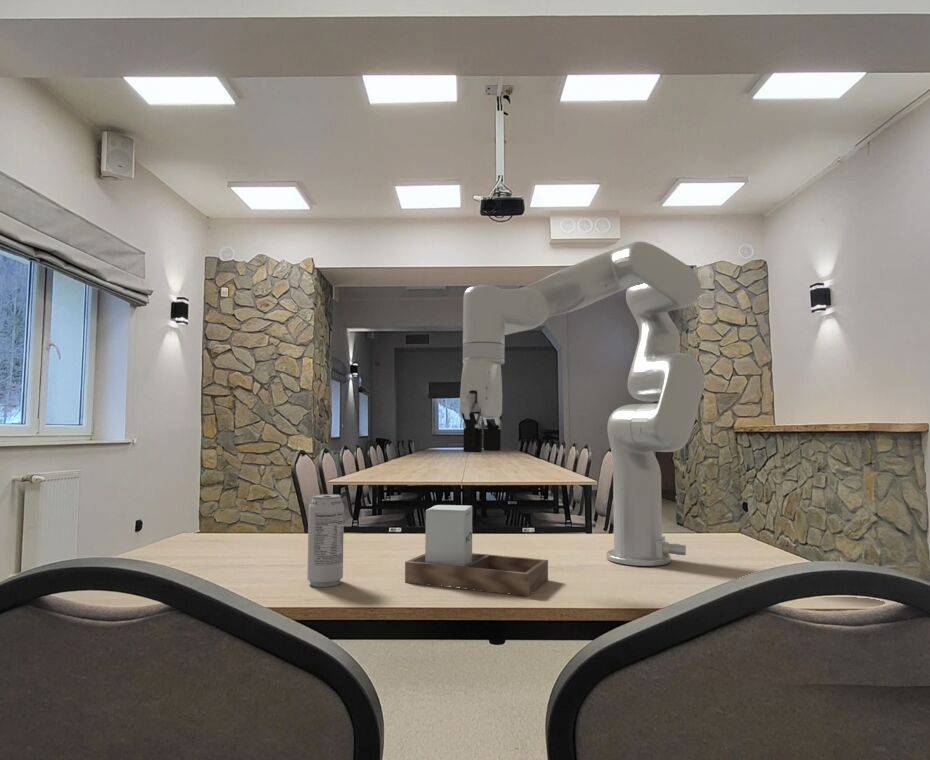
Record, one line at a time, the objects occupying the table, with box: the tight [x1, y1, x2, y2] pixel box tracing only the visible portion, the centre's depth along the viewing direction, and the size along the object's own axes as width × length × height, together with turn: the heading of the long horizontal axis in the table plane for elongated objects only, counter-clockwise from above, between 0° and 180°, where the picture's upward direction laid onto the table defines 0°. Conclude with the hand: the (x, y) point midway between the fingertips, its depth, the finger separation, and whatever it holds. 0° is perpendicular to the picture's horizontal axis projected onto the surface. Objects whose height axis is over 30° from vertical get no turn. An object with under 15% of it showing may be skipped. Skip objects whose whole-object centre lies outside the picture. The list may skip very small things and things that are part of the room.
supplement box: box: [424, 504, 473, 566], centre depth 112 cm, size 7×7×13 cm
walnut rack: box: [404, 552, 549, 597], centre depth 109 cm, size 22×12×4 cm, turn 66°
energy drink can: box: [306, 493, 345, 588], centre depth 108 cm, size 6×6×15 cm
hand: (482, 451), depth 110 cm, fingers open, 9 cm apart
